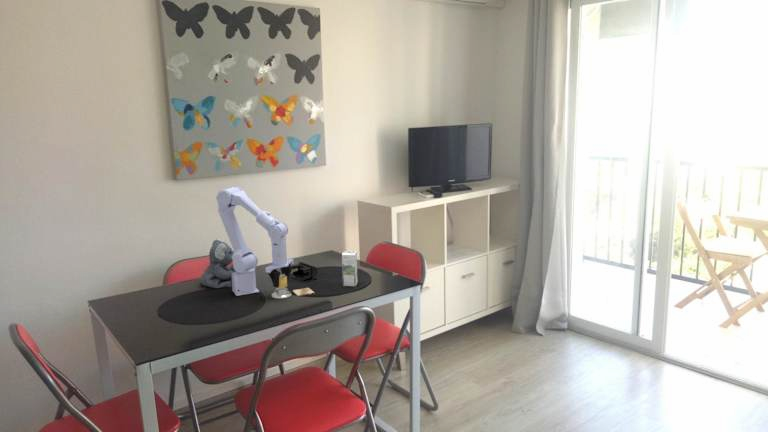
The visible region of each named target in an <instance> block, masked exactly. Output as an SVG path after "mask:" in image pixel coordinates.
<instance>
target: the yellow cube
mask: <svg viewBox="0 0 768 432" xmlns="http://www.w3.org/2000/svg"><path fill="white" fill-rule="evenodd" d="M278 288H288V284H287V276H286V275H285V274H282V273H280V276H279V287H278Z"/></svg>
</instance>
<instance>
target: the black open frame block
mask: <svg viewBox="0 0 768 432" xmlns="http://www.w3.org/2000/svg"><path fill="white" fill-rule="evenodd" d="M292 266H293V269H292V270H293V271H292V276H293V277H292V278H293V279H294V280H297V281H299V282H302V283H304V282H305V283H308V281H309V282H312V281H314V279H316V278H317V276H318V271H319V270H318V268H317V267H316V265H315V266H314V265H312V264H308V263H306V262H302V261H298V263H297V264H295V265H294V264H292ZM296 269H297V270H296ZM311 280H312V281H311Z"/></svg>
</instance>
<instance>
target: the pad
mask: <svg viewBox="0 0 768 432" xmlns="http://www.w3.org/2000/svg"><path fill="white" fill-rule="evenodd" d="M292 293H294V294H295V295H296V296H297V297H301V296H306V295H307V294H308V295H313V294H315V291H313V290H312V289H311V288H310V287H305V288H299V289H293V290H292ZM312 293H313V294H312ZM308 295H307V296H308Z"/></svg>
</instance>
